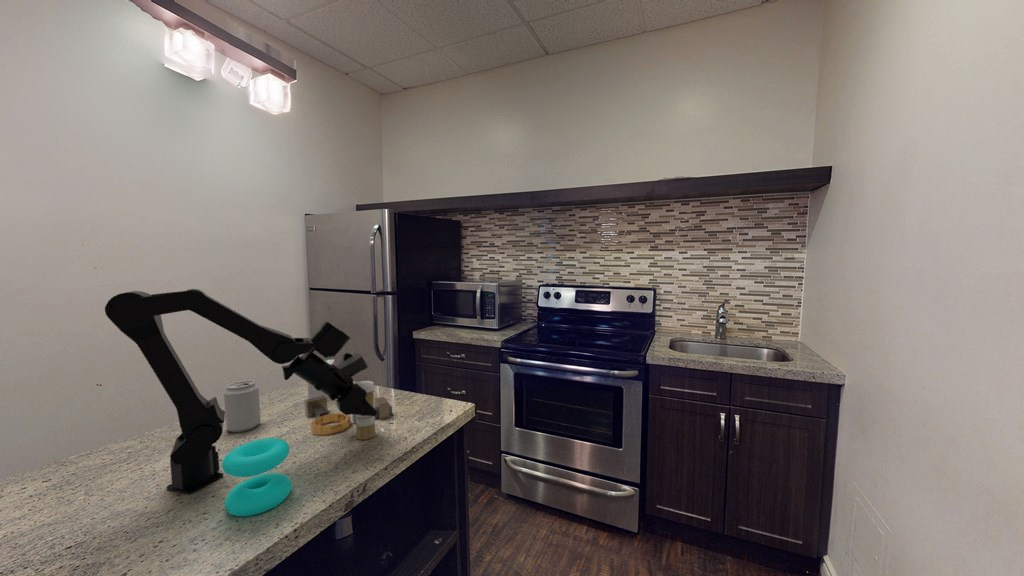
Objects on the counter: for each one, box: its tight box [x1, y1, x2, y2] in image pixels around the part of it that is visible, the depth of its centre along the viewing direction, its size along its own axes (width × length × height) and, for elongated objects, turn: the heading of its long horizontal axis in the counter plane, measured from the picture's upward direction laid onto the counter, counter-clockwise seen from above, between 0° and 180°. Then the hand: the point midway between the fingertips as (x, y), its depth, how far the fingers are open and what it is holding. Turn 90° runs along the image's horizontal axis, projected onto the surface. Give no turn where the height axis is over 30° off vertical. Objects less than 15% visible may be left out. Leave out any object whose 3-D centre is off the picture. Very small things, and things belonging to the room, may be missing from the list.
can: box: [223, 379, 262, 433], centre depth 100 cm, size 8×8×12 cm
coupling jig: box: [304, 395, 393, 436], centre depth 103 cm, size 17×25×4 cm
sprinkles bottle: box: [355, 380, 376, 441], centre depth 93 cm, size 5×5×14 cm
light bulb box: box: [306, 359, 335, 401], centre depth 123 cm, size 11×7×11 cm, turn 17°
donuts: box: [221, 437, 293, 517], centre depth 68 cm, size 10×10×10 cm
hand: (370, 408), depth 94 cm, fingers open, 9 cm apart
